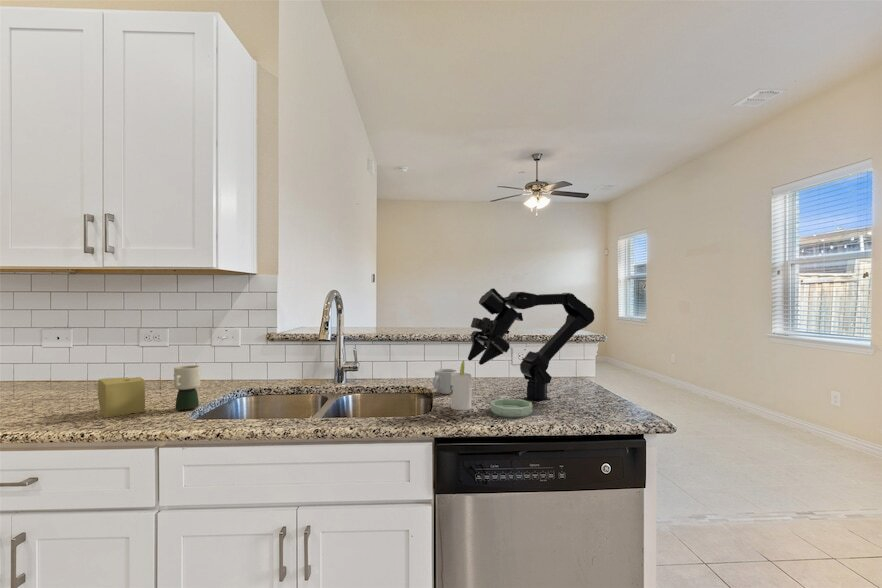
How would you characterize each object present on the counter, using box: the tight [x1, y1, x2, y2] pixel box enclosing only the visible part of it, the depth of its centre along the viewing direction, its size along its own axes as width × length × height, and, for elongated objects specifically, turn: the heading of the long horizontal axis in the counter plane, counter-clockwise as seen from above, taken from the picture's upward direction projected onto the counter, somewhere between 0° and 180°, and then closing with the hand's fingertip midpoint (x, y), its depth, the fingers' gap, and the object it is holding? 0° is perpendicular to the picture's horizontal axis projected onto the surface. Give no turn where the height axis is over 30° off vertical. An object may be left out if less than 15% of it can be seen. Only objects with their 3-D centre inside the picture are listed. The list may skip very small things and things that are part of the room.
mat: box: [480, 408, 544, 422], centre depth 132 cm, size 13×13×1 cm
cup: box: [432, 368, 458, 395], centre depth 158 cm, size 11×8×8 cm
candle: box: [449, 360, 472, 411], centre depth 137 cm, size 6×6×15 cm
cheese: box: [97, 376, 146, 419], centre depth 133 cm, size 10×11×10 cm
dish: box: [490, 398, 534, 418], centre depth 132 cm, size 12×12×2 cm
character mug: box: [173, 364, 201, 411], centre depth 136 cm, size 11×7×13 cm, turn 176°
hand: (474, 361), depth 141 cm, fingers open, 9 cm apart
